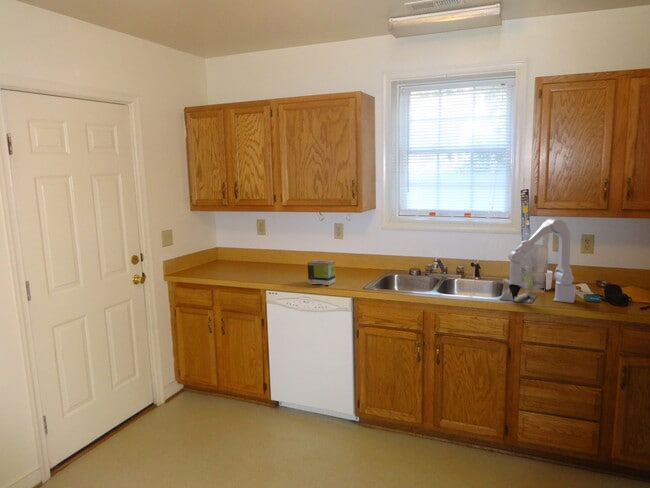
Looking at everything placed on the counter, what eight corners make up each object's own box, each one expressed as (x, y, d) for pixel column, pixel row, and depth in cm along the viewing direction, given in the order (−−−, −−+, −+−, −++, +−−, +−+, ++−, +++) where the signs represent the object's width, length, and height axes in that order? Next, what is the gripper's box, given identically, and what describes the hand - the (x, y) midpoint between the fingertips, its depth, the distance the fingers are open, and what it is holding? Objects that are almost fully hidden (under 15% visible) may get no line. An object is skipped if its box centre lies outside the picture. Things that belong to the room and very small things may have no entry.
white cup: (553, 287, 277) (553, 270, 275) (550, 290, 271) (551, 273, 269) (538, 286, 281) (539, 269, 280) (535, 289, 275) (536, 272, 273)
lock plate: (536, 296, 260) (536, 295, 260) (531, 303, 247) (531, 302, 247) (505, 293, 268) (506, 292, 268) (499, 299, 256) (499, 298, 256)
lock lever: (525, 295, 260) (525, 291, 259) (531, 296, 257) (531, 292, 257) (512, 300, 251) (512, 296, 250) (519, 302, 248) (519, 297, 247)
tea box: (335, 282, 306) (335, 260, 304) (328, 286, 298) (328, 263, 295) (315, 281, 313) (314, 259, 311) (307, 284, 305) (307, 262, 302)
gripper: (499, 272, 254) (498, 296, 256) (522, 277, 242) (521, 302, 244) (507, 270, 258) (507, 294, 260) (531, 275, 245) (530, 300, 247)
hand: (514, 298), depth 252 cm, fingers closed
